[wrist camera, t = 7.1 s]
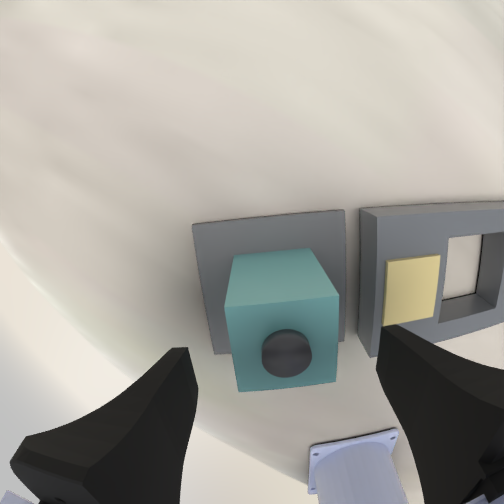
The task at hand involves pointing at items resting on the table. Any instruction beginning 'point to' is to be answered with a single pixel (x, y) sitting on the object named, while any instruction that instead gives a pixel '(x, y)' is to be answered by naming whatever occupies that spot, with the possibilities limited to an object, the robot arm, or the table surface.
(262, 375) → the plug
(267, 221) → the mat
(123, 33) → the table surface
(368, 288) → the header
